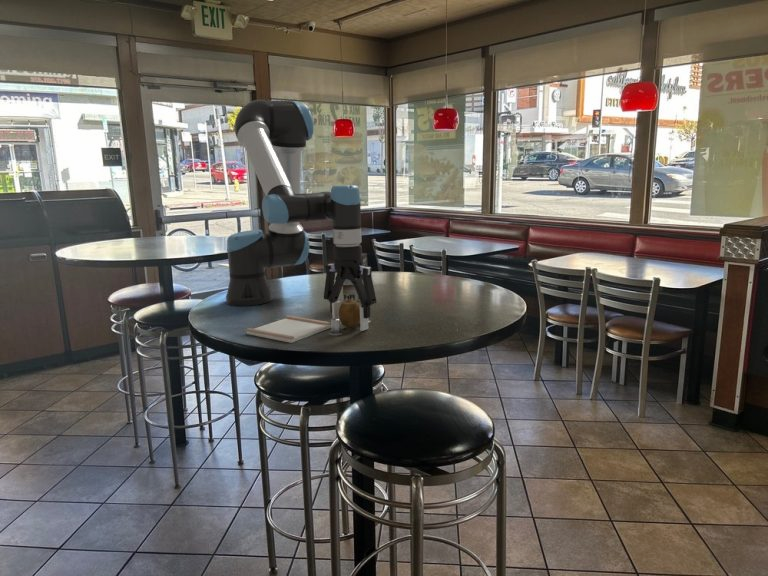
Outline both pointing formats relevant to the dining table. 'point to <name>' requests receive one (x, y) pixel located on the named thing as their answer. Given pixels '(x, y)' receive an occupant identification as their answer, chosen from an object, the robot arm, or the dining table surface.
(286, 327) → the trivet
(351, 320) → the fruit
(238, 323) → the dining table surface
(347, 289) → the coffee box
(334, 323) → the pins
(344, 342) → the dining table surface
